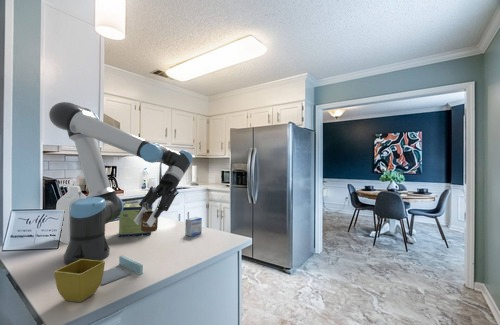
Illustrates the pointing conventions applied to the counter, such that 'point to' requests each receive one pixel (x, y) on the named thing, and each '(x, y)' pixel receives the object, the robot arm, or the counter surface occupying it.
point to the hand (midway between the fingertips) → (142, 223)
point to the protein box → (131, 221)
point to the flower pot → (79, 279)
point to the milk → (68, 209)
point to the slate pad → (113, 275)
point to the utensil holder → (146, 216)
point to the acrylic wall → (131, 264)
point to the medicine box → (193, 226)
